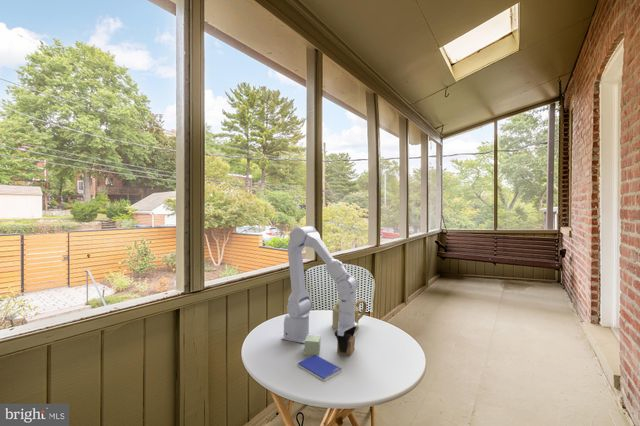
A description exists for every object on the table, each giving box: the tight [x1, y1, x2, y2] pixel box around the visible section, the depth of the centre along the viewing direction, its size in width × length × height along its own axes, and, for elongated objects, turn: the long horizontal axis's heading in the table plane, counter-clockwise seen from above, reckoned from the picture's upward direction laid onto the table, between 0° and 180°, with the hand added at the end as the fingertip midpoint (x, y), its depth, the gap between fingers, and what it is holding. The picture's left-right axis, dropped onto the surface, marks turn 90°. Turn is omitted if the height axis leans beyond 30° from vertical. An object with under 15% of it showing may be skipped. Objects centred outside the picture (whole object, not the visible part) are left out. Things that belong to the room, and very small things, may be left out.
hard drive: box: [297, 355, 343, 382], centre depth 104 cm, size 2×8×12 cm
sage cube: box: [304, 334, 321, 356], centre depth 115 cm, size 5×5×5 cm
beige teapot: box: [332, 299, 367, 332], centre depth 138 cm, size 15×11×15 cm
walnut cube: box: [336, 336, 356, 357], centre depth 116 cm, size 5×5×5 cm
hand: (346, 347), depth 116 cm, fingers open, 6 cm apart
